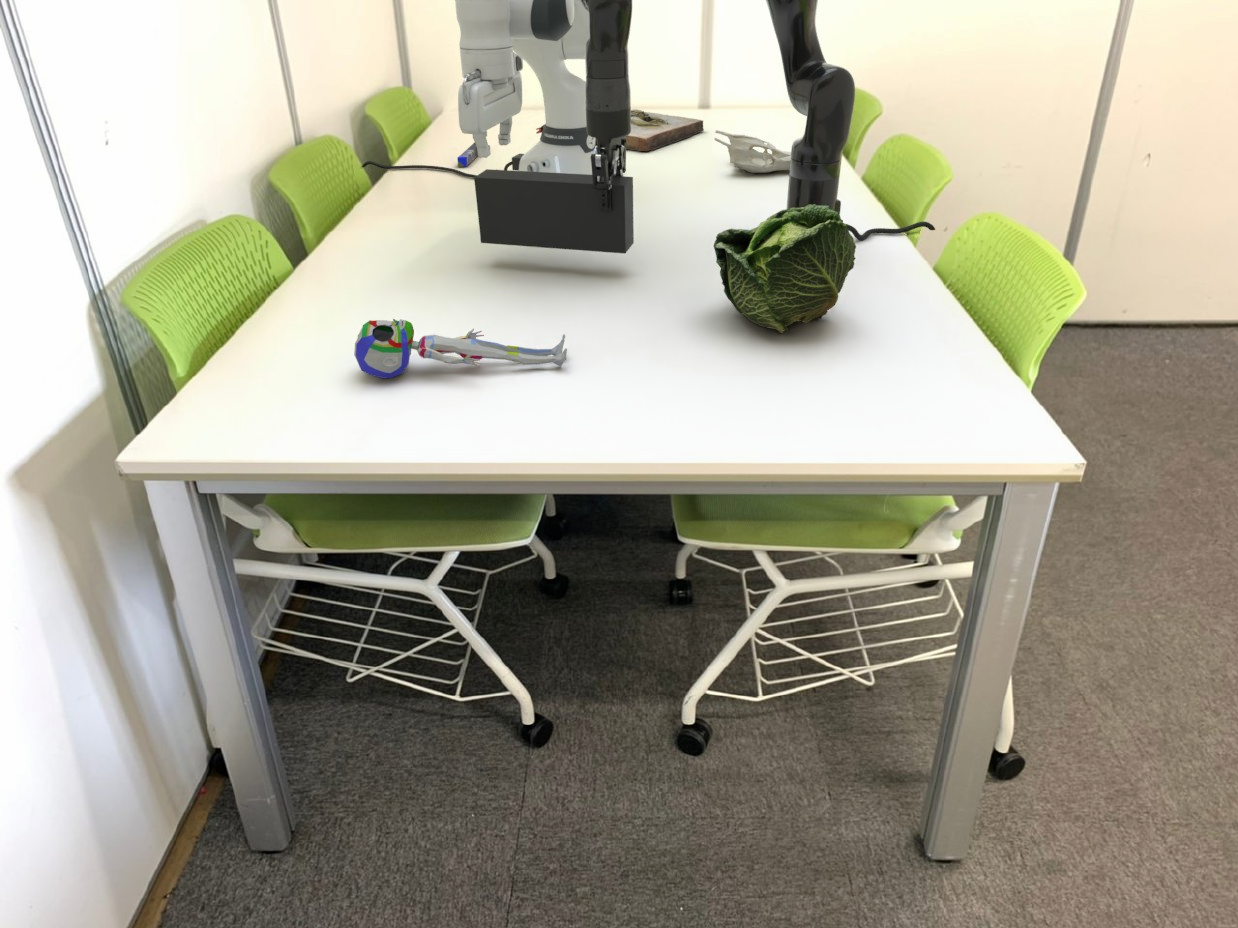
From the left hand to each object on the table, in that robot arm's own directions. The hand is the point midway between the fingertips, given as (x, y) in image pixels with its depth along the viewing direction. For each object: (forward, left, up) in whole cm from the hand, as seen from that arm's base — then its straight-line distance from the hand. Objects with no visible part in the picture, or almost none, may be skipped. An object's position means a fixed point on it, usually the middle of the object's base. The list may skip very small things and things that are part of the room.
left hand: (494, 150), depth 158 cm
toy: (+21, -39, -21) cm, 49 cm away
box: (+10, +3, -16) cm, 19 cm away
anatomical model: (+17, +86, -21) cm, 90 cm away
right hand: (+20, +6, -9) cm, 23 cm away
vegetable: (+56, 0, -21) cm, 59 cm away
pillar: (-57, +63, -21) cm, 88 cm away
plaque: (-32, +105, -21) cm, 112 cm away
